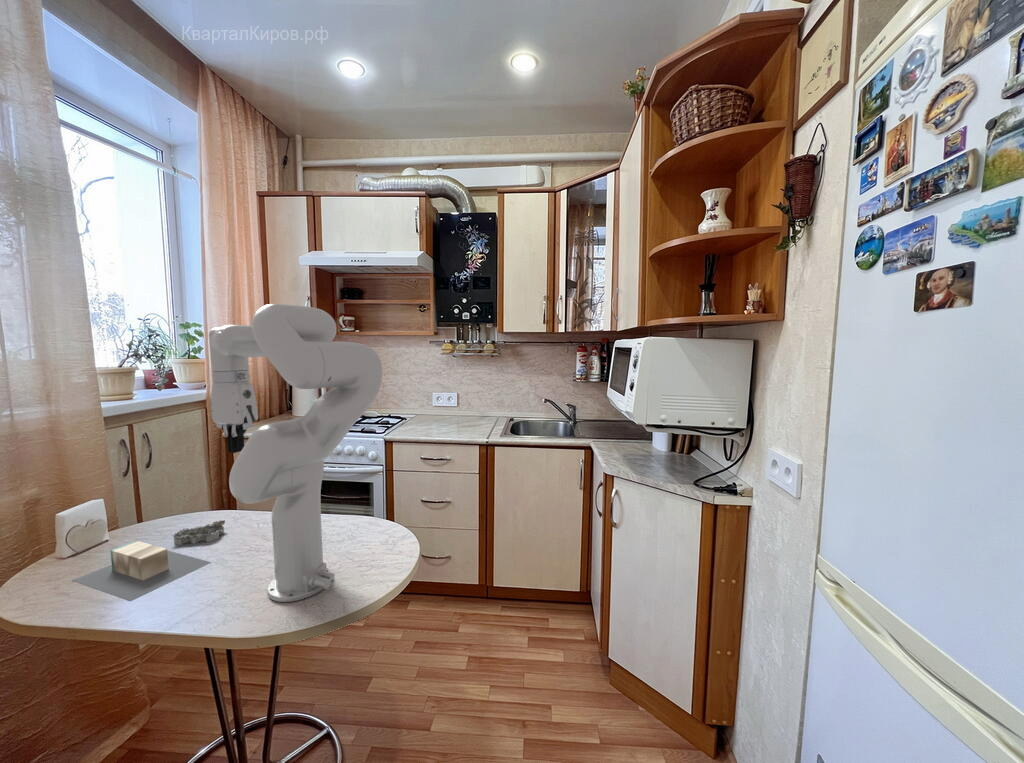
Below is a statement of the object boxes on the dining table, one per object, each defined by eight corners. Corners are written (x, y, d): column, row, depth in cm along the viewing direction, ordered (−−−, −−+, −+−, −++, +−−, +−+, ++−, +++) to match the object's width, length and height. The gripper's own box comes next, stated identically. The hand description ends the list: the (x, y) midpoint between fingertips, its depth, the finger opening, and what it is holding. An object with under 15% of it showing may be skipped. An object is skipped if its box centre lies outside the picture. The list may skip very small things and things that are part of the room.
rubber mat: (211, 564, 97) (211, 562, 97) (130, 603, 82) (130, 601, 82) (155, 549, 105) (155, 547, 105) (72, 582, 90) (72, 580, 90)
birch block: (167, 548, 94) (136, 540, 98) (141, 559, 89) (110, 550, 93) (168, 568, 94) (138, 559, 99) (143, 580, 90) (112, 570, 94)
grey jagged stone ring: (228, 532, 115) (227, 519, 115) (214, 545, 108) (213, 530, 107) (186, 536, 113) (185, 522, 113) (169, 549, 105) (168, 534, 105)
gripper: (268, 377, 99) (272, 449, 100) (223, 377, 103) (228, 446, 104) (239, 379, 91) (245, 457, 93) (192, 379, 96) (198, 453, 97)
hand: (236, 451), depth 99 cm, fingers closed
